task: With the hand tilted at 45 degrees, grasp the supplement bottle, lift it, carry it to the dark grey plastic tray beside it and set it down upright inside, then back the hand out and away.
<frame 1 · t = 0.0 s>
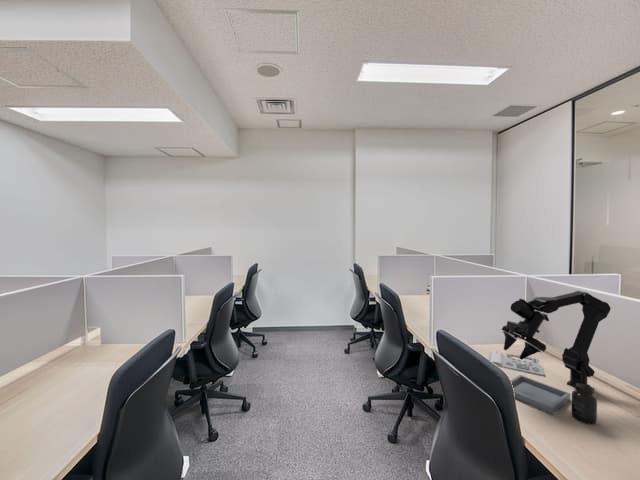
hand: (512, 354, 124), 15 cm above the table, tool tilted 35°, fingers open, 9 cm apart
tray: (534, 395, 118), on the table
supplement bottle: (583, 419, 104), on the table
office telephone: (514, 363, 149), on the table
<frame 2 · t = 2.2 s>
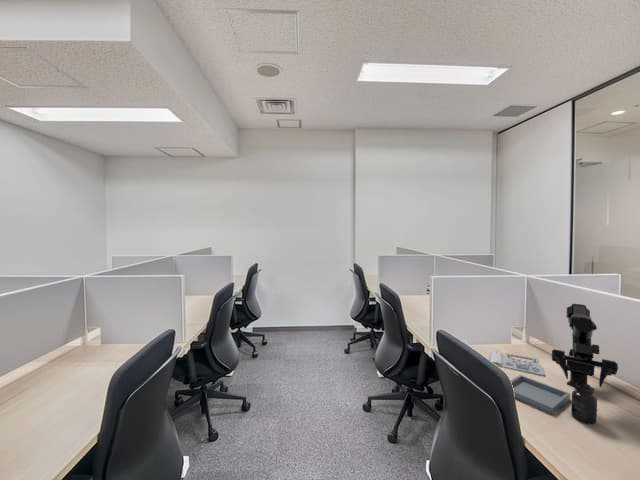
hand: (583, 382, 107), 11 cm above the table, tool tilted 45°, fingers open, 9 cm apart
nothing on the table moved.
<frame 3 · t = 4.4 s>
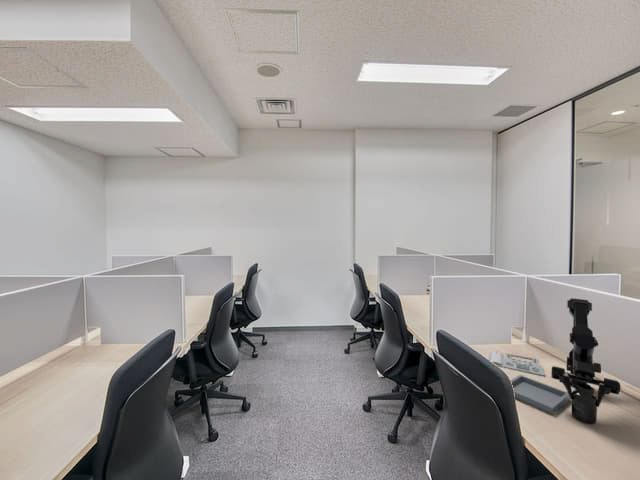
hand: (584, 402, 103), 7 cm above the table, tool tilted 45°, fingers closed on supplement bottle, 7 cm apart
supplement bottle: (583, 419, 104), on the table, touching gripper
everything else where it was.
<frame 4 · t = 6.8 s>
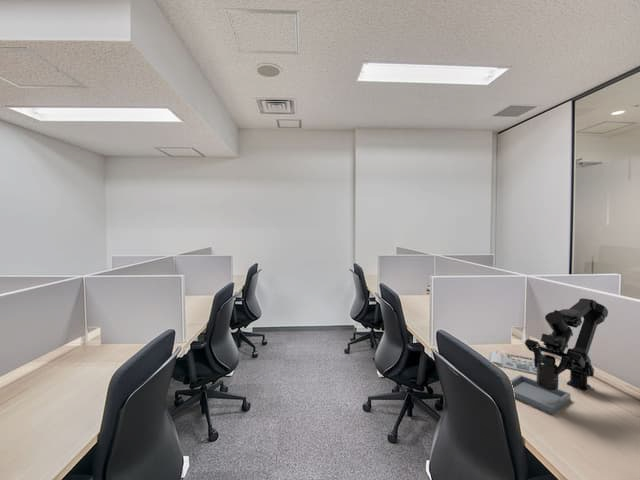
hand: (545, 370, 113), 13 cm above the table, tool tilted 45°, fingers closed on supplement bottle, 7 cm apart
supplement bottle: (547, 386, 114), point 6 cm above the table, touching gripper
everything else where it was.
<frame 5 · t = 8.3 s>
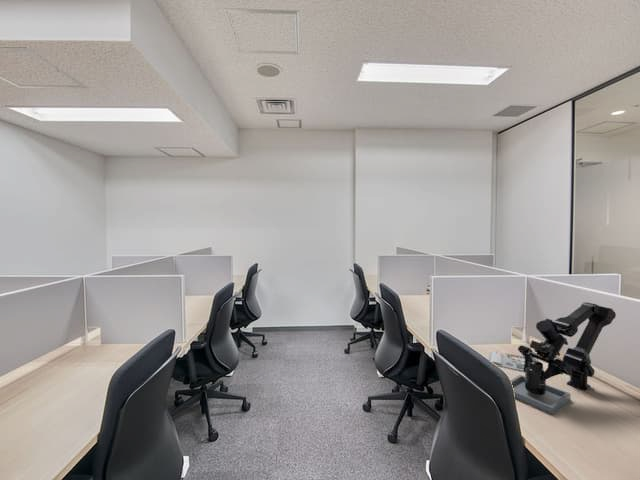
hand: (532, 375, 118), 9 cm above the table, tool tilted 45°, fingers closed on supplement bottle, 7 cm apart
supplement bottle: (535, 391, 118), point 2 cm above the table, touching gripper
everything else where it was.
when the fingers open (8 cm above the table, at t = 9.3 s): supplement bottle stays where it is, resting on tray.
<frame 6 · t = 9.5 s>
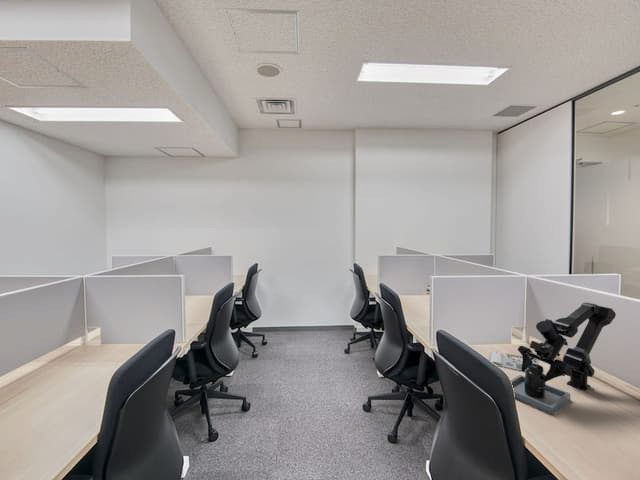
hand: (532, 376, 118), 9 cm above the table, tool tilted 45°, fingers open, 8 cm apart
supplement bottle: (534, 394, 118), resting on tray
everything else where it was.
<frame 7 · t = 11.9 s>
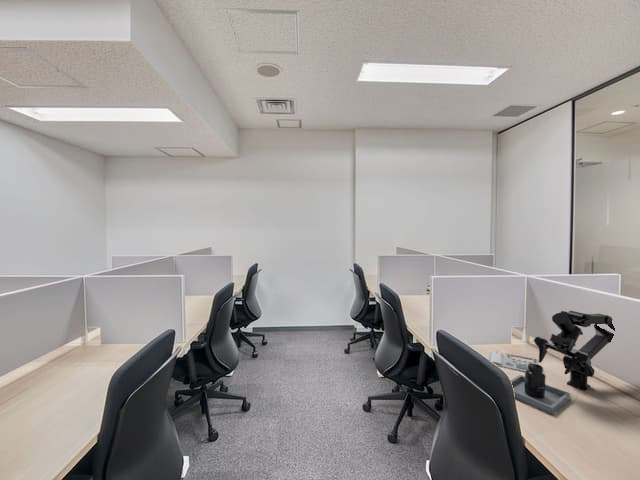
hand: (551, 367, 120), 11 cm above the table, tool tilted 40°, fingers open, 9 cm apart
nothing on the table moved.
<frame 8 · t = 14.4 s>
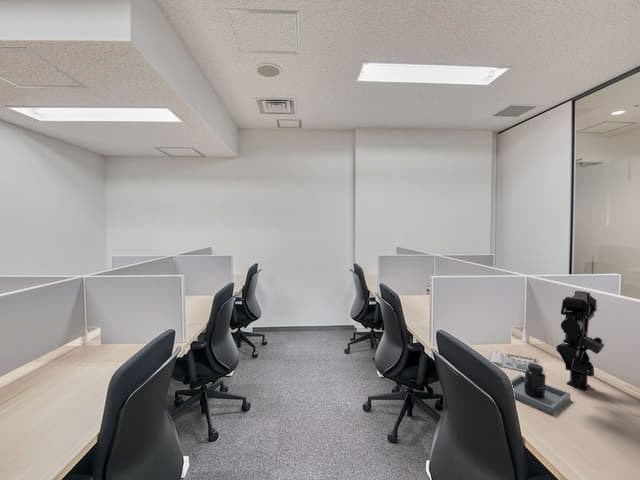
hand: (573, 366, 117), 13 cm above the table, tool pointing down, fingers open, 9 cm apart
nothing on the table moved.
at the end: supplement bottle inside the target area on the tray (0.1 cm from its centre), point 0.4 cm above the tray's base; supplement bottle tilted 0°; the gripper is holding nothing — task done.
